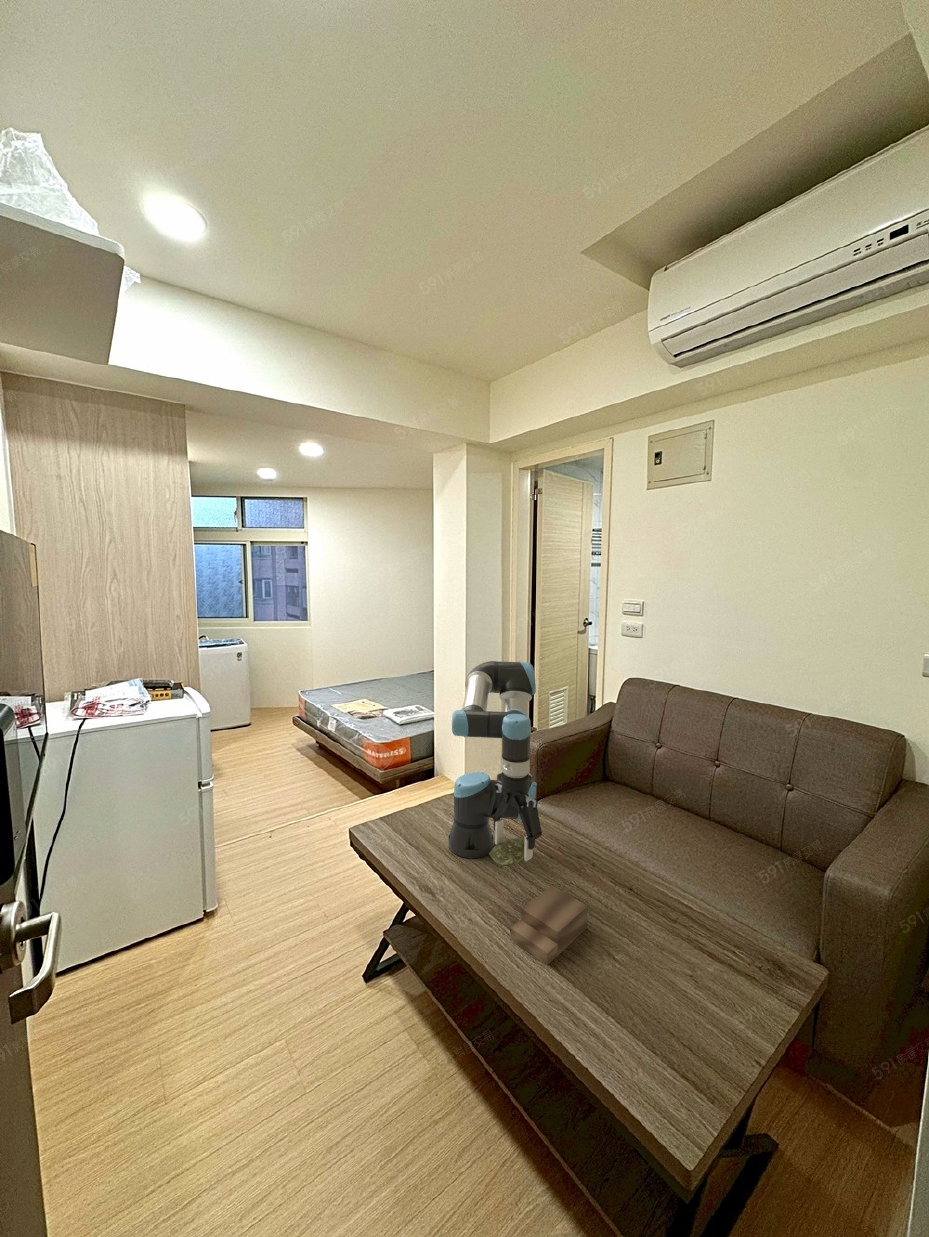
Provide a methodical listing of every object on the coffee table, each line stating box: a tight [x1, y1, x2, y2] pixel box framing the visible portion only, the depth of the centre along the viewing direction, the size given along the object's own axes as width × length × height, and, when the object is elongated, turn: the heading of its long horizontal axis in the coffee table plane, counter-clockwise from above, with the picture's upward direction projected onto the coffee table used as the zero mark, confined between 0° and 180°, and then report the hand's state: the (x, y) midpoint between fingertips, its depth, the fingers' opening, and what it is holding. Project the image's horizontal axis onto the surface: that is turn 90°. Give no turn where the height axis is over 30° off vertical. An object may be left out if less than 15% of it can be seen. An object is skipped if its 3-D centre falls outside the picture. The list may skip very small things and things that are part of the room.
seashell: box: [488, 837, 525, 867], centre depth 132 cm, size 10×7×10 cm
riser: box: [509, 885, 589, 966], centre depth 119 cm, size 11×17×6 cm, turn 134°
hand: (513, 850), depth 132 cm, fingers closed on seashell, 10 cm apart
